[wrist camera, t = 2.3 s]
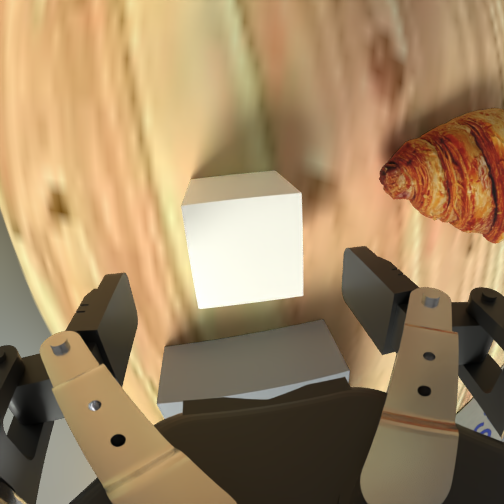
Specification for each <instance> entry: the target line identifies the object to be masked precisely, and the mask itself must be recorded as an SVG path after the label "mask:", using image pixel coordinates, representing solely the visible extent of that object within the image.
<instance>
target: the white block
mask: <svg viewBox="0 0 504 504" xmlns="http://www.w3.org/2000/svg"><path fill="white" fill-rule="evenodd" d="M181 207H182V214H183V221H184V227H185V234H186V240H187V246H188V252H189V258H190V264H191V270H192V276H193V281H194V287H195V292H196V298H197V303H198V308H199V309H204V308H213V307H222V306H230V305H238V304H246V303H254V302H262V301H269V300H277V299H284V298H291V297H298V296H303V225H302V193H301V192H300V191H299V190H298V189H296V188H295V187H294V186H293V185H292V184H291V183H289V182H288V181H287V180H286V179H285V178H283V177H282V176H281V175H280V174H279V173H278V172H276V171H264V172H253V173H243V174H233V175H223V176H215V177H206V178H198V179H190V182H189V185H188V188H187V191H186V193H185V196H184V199H183V202H182V205H181Z"/></svg>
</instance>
